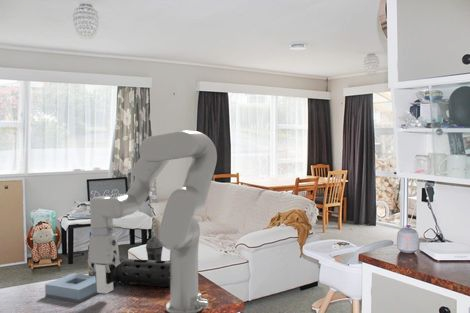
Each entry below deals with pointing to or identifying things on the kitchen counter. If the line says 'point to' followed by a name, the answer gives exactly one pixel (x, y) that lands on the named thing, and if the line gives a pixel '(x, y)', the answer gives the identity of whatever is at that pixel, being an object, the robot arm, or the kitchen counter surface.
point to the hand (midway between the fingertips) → (104, 281)
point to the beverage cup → (154, 248)
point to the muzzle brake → (143, 272)
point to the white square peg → (102, 279)
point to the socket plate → (72, 287)
